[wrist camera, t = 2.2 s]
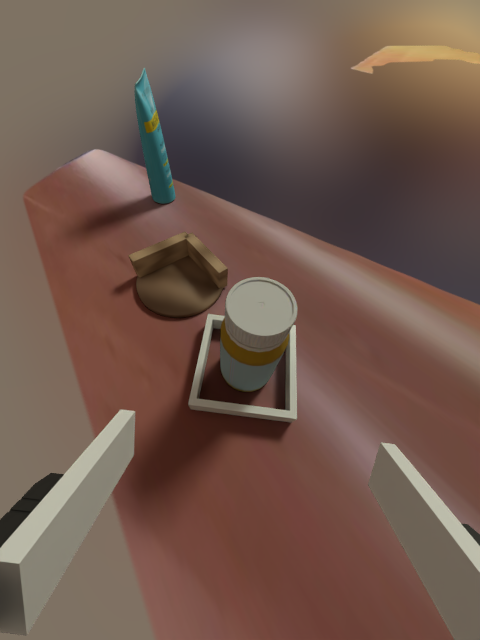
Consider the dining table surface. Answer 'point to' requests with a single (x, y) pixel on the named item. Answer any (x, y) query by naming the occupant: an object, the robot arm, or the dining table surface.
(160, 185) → the tube
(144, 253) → the v block
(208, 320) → the grey frame
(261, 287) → the bottle
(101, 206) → the dining table surface
